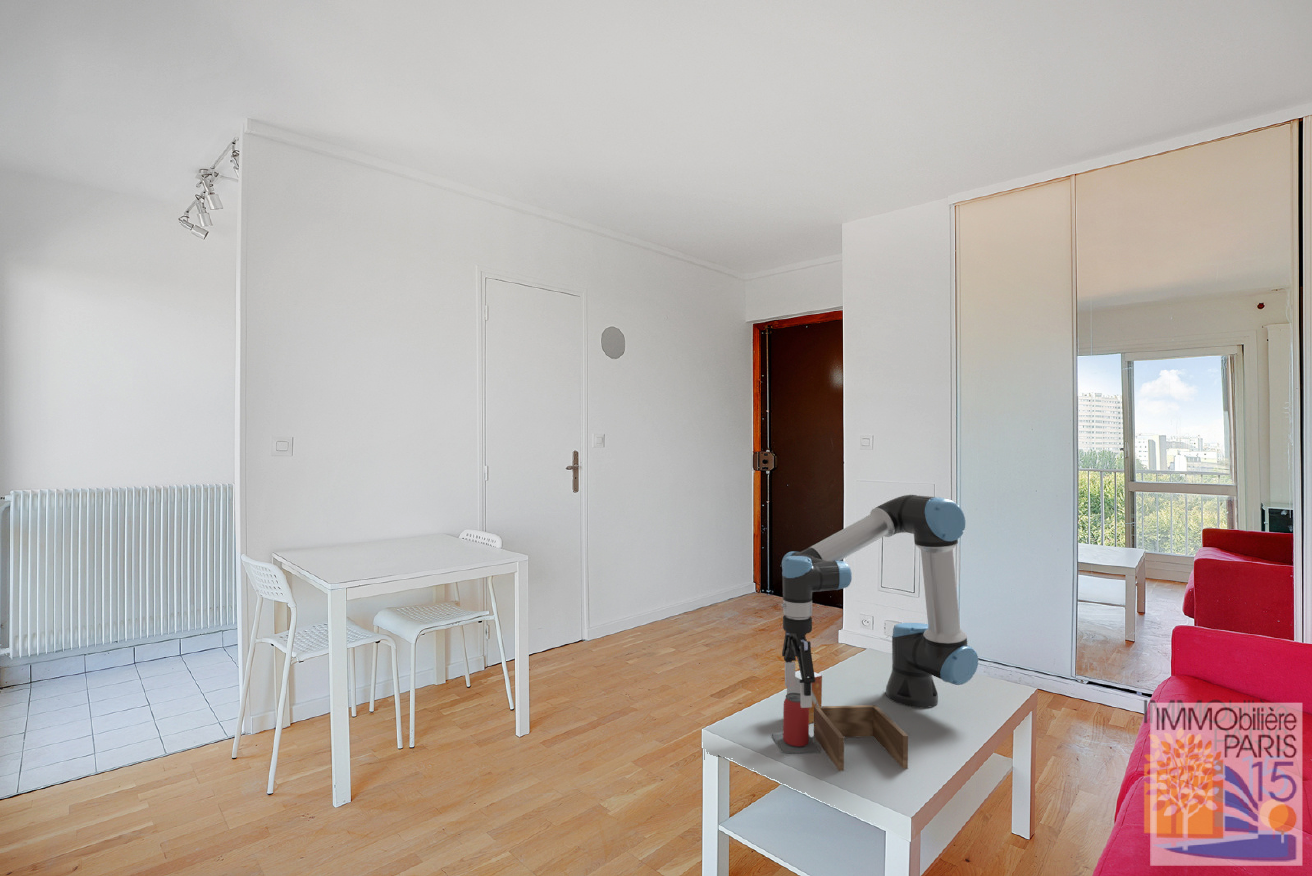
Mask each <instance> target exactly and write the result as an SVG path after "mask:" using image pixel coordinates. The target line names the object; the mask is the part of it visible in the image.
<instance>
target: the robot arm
mask: <svg viewBox="0 0 1312 876" xmlns="http://www.w3.org/2000/svg"><path fill="white" fill-rule="evenodd" d="M965 529H966V517H965V514H964V511H963V510H962V507H960V506H959V504H957V503H956V502H955V501H953V500H951V499H947V498H944V497H941V496H940V497H939V496H928V495H927V496H925V495H916V494H906V495H905V494H904V495H901V496H897V497H895V498H892V499H890V500H888V501H885V502H884V503H882V504H880V505H878V506H876V507H874V508H872V509H871V510H870V512H869V515H866V516H864V517H863V518H861V519H859V520H857V521H855V522H854V523H852V524H850V525H848V526H846V527H844V528H843V529H841V530H839V531H837V532H835V533H833V534H831V535H830V536H828V537H826V538H824V539H822V540H821V541H819V542H817V543H815V544H813V545H811V546H809V547H807V548H806V549H803V550H802V551H789V552H787V553H786V554H784V556H783V557H782V560H781V569H782V571H781V575H782V602H783V603H781V604H780V606H781V608H782V613H783V617H782V629H783V631H784V632H785V633H784V638H783V639H784V640H783V645H782V651H781V655H782V657H783V659H784V687H786V688H787V687H789V686H795V671H796V661H797V663H798V668H799V671H800V673H801V678H802V680H800V681H799V682H800V690H801V708H808V707H812V683H815V676H814V672H815V671H814V664H813V663H814V662H813V656H812V649H811V648H812V647H811V641H809V640H808V639H807V638H806V636H807V634H810V633H812V631H813V618H812V615H813V593H816V592H825V591H838V590H841V589H846V588H848V587H849V586H850V585H851V583H852V578H853V577H852V575H853V574H852V569H851V567H850V566H849V564H848V563H847V562H846V561H844V559H846V558H847V557H849V556H851V555H853V554H855V553H857V552H858V551H860V550H861V549H863V548H865V547H868V546H869V545H870V544H872V543H874V542H877V541H878V540H879V539H881V538H883V537H885V538H890V537H892V536H894V535H896V534H904V533H905V534H906V533H907V534H912V535H913V539H914V545H915V547H917V548H918V549H920V557H921V566H922V576H923V585H924V587H923V588H924V596H925V597H924V598H925V608H926V616H927V617H926V618H927V623H921V622H901V623H897V624H895V625H894V626H893V628H892V635H891V640H892V641H891V650H892V651H891V652H892V653H891V654H892V655H891V656H892V657H891V662H892V663H891V664H892V666H891V673H890V676H889V678H888V680H887V684H886V686H885V687H886V688H885V696H886V697H887V698H888V699H889V700H891V701H892V702H895V703H896V704H899V705H902V706H905V707H912V708H921V709H922V708H924V709H925V708H931V707H935V706H936V705H937V704H938V703H939V694H938V690H937V687H936V684H935V680H934V678H933V677H936V678H938V679H940V680H942V681H943V682H945V683H948V684H952V685H955V686H961V685H964V684H966V683H968V682H970V681H971V680H972V678H973V677H974V675H975V674H976V672H977V670H978V668H979V667H978V666H979V656H978V653H977V651H976V650H975V649H974V648H973V647H971V646H970V645H968V636H967V633H966V632H964V630H963V629H961V622H960V612H959V602H958V591H957V581H956V580H957V578H956V569H955V560H954V559H955V558H954V548H955V547H956V546H957V545H958V544H959V541H958V540H959V539H960V538H961V537H962V536H963V534H964V530H965ZM807 677H809V678H807Z"/></svg>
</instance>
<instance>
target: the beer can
mask: <svg viewBox="0 0 1312 876" xmlns="http://www.w3.org/2000/svg"><path fill="white" fill-rule="evenodd" d="M782 709H783V719H782V720H783V721H782V722H783V723H782V725H783V726H782V732H783V733H782V734H783V740H784V742H785V743H786V744H788V745H790V746H793V747H803V746H806V745H807V744H808V742H809V735H810V731H809V730H810V726H809V725H810V723H809V707H808V708H801V694H800V693H789V694H787V693H786V695H785V699H784V701H783V708H782Z"/></svg>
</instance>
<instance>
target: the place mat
mask: <svg viewBox="0 0 1312 876" xmlns="http://www.w3.org/2000/svg"><path fill="white" fill-rule="evenodd" d="M771 736H772V738H773V740H774V742H775V743H776V745H777V747H778V749H779V750H780V752H781V753H782V755H787V754H790V755H794V754H815V753H816V754H819V753H820V754H821V753H822V750H821V749H820V748H819V747H818V745H817V744H816V742H815V741H814V740H813V738H812V737H811V735H810V734H809V742H808V744H807V745H806V746H803V747H793V746H790V745H788V744H786V743H785V742H784V740H783V733H772V734H771Z"/></svg>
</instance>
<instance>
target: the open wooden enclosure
mask: <svg viewBox="0 0 1312 876" xmlns="http://www.w3.org/2000/svg"><path fill="white" fill-rule="evenodd" d="M864 737H865V738H866V737H868V738H870V737H873V738H874V739H875V740H876V741H877V743H878V744H880V746H882V748H884V750H885V751H886V752H887V753H888V755H890V757H892V759H893V760H894V761H895V762H896V763H897V764H898V765H899V766H900V767H901V768H902V769H904V770H905V769H908V768H909V767H908V766H909V765H908V764H909V735H908V734H907V733H906V732H905V731H904V730H903V729H901V728H900V726H898V725H897V724H896V723H895V721H893V720H892V719H891V718H890V717H889V716H888V715H887V714H886V713H885V712H884V711H883V710H882V709H881V708H880V707H878V705H876V704H860V705H855V704H854V705H823V706H822V705H821V706H814V722H813V738H815V740H816V741H817V743H818V744H819V745H820V746H821V748H822V749H823V751H824V752H825V754H826V755H827V756H828V758H829V759H830V760H831V762H832V763H833V764H834V766H835V768H836V769H837V770H838V772H840V771H841V772H844V771H845V761H844V760H845V738H864Z"/></svg>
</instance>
